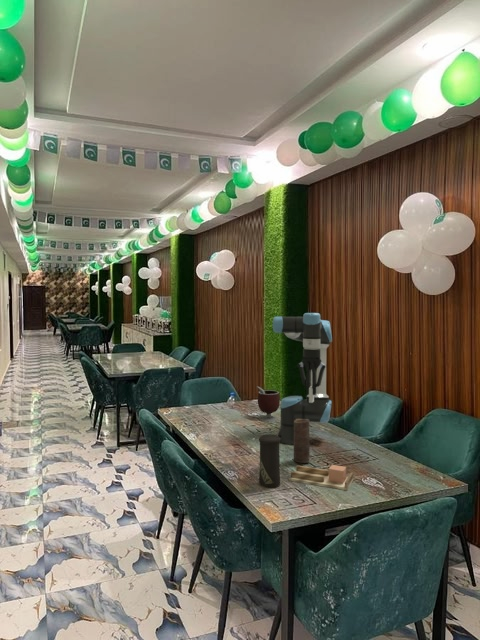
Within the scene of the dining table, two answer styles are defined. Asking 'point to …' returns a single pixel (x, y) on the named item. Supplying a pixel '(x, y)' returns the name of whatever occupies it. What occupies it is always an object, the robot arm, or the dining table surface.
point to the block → (337, 473)
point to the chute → (318, 477)
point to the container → (269, 461)
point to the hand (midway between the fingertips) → (311, 401)
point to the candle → (301, 441)
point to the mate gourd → (268, 404)
